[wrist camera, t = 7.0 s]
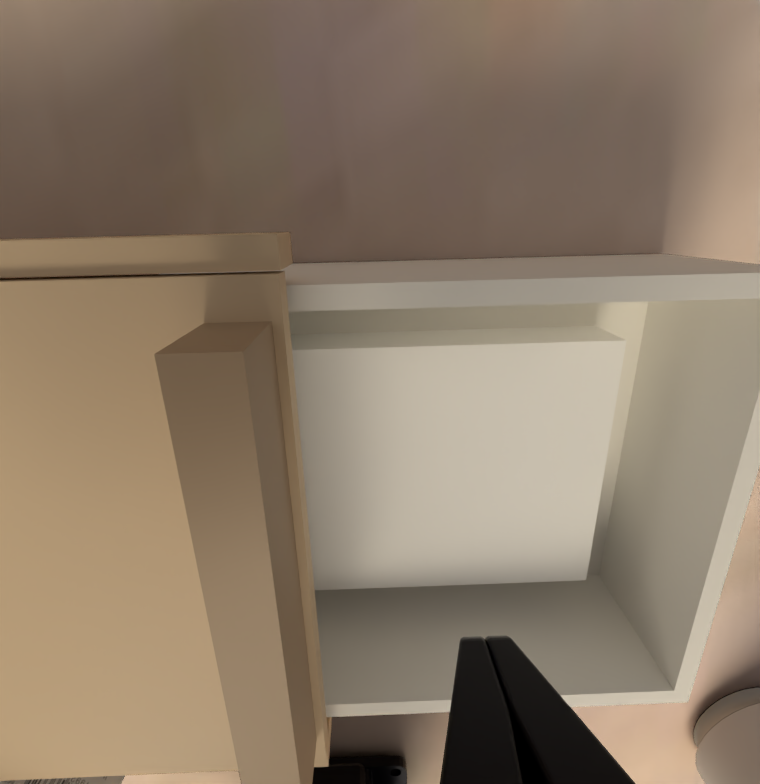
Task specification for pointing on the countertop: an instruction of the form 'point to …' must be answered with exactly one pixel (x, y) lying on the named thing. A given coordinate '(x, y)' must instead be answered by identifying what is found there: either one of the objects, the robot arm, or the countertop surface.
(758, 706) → the energy drink can
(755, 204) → the countertop surface
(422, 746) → the countertop surface
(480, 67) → the countertop surface
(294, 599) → the lid
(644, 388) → the mailer box
